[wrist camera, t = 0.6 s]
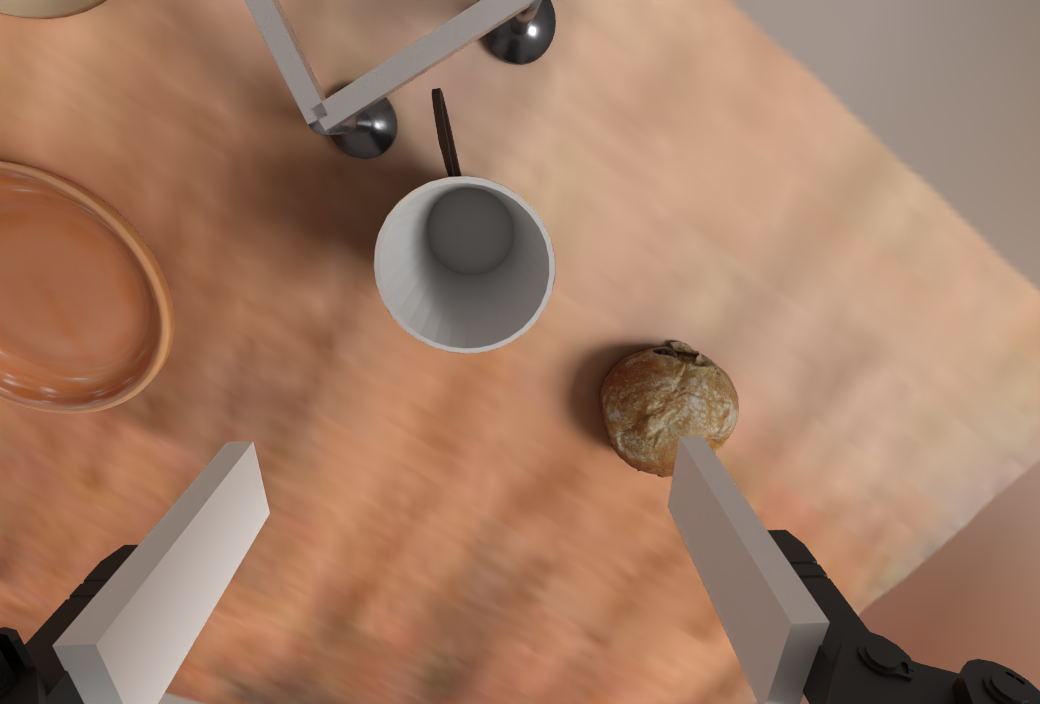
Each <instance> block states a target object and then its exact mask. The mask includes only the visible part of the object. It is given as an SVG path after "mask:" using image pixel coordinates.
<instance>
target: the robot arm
mask: <svg viewBox="0 0 1040 704" xmlns="http://www.w3.org/2000/svg"><path fill="white" fill-rule="evenodd" d="M668 508H669V510H670V512H671V514H672V516H673V519H674V521H675V523H676V525H677V527H678V529H679V532H680V534H681V536H682V538H683V540H684V542H685V545H686V547H687V549H688V551H689V553H690V556H691V558H692V560H693V562H694V564H695V566H696V569H697V571H698V573H699V575H700V577H701V579H702V582H703V584H704V586H705V588H706V590H707V592H708V595H709V597H710V599H711V601H712V603H713V606H714V608H715V610H716V612H717V614H718V616H719V619H720V621H721V623H722V625H723V627H724V629H725V632H726V634H727V636H728V638H729V640H730V643H731V645H732V647H733V649H734V651H735V653H736V656H737V658H738V660H739V662H740V664H741V666H742V669H743V671H744V673H745V675H746V677H747V679H748V682H749V684H750V686H751V688H752V690H753V693H754V695H755V697H756V699H757V701H758V703H759V704H800V702H801V699H802V696H803V694H804V695H805V697H806V698H807V700H808V702H809V704H1040V691H1039V690H1038V689H1037V688H1036V687H1034V686H1033V685H1032V684H1031V683H1030V682H1029V681H1028V680H1026V679H1025V678H1023V677H1022V676H1020V675H1019V674H1017V673H1016V672H1014V671H1013V670H1011V669H1009V668H1007V667H1004V666H1002V665H1000V664H997V663H995V662H992V661H986V660H981V659H976V660H971V661H968V662H967V663H966V664H965V665H964V666H963V668H962V670H961V672H960V673H959V674H958V673H955V672H951V671H946V670H943V669H939V668H935V667H930V666H927V665H923V664H920V663H917V662H914V661H912V660H911V658H910V657H909V656H908V655H907V654H906V653H905V652H904V651H903V650H902V649H901V648H900V647H898V646H897V645H896V644H894V643H892V642H891V641H889V640H888V639H886V638H884V637H883V636H880V635H877V634H874V633H871V632H870V631H869V630H868V629H867V628H866V626H864V624H863V622H862V621H861V620H860V618H859V617H858V616H857V614H856V613H855V612H854V610H853V609H852V608H851V606H850V605H849V604H848V602H847V601H846V600H845V598H844V597H843V596H842V594H841V593H840V592H839V590H838V589H837V587H836V586H835V585H834V583H833V582H832V581H831V579H828V578H827V574H826V573H825V571H824V570H823V569H822V567H821V566H820V565H818V564H817V561H816V559H815V558H814V557H813V555H812V554H811V553H810V551H809V550H808V549H807V547H806V546H805V545H804V544H803V543H802V542H801V541H799V540H798V539H797V538H795V537H794V536H793V535H792V534H790V533H789V532H788V531H786V530H767V529H766V528H765V526H764V525H763V524H762V522H761V521H760V519H759V518H758V516H757V515H756V513H755V512H754V510H753V509H752V507H751V506H750V504H749V503H748V501H747V500H746V499H745V497H744V496H743V494H742V493H741V491H740V490H739V488H738V487H737V485H736V484H735V482H734V481H733V479H732V478H731V476H730V475H729V474H728V472H727V471H726V469H725V468H724V466H723V465H722V463H721V462H720V460H719V459H718V457H717V456H716V454H715V453H714V451H713V450H712V449H711V447H710V446H709V444H708V443H707V441H706V440H705V438H704V437H703V436H683V437H679V441H678V447H677V453H676V460H675V466H674V472H673V478H672V484H671V490H670V496H669V502H668ZM269 514H270V513H269V508H268V504H267V500H266V495H265V491H264V487H263V482H262V478H261V473H260V469H259V465H258V460H257V456H256V452H255V447H254V443H253V442H227V443H226V444H225V445H224V446H223V447H222V449H221V450H220V451H219V452H218V453H217V454H216V456H215V457H214V458H213V459H212V460H211V461H210V463H209V464H208V465H207V466H206V467H205V468H204V470H203V471H202V472H201V473H200V474H199V475H198V477H197V478H196V479H195V480H194V481H193V482H192V484H191V485H190V486H189V487H188V488H187V489H186V491H185V492H184V493H183V494H182V495H181V496H180V498H179V499H178V500H177V501H176V502H175V503H174V505H173V506H172V507H171V508H170V509H169V510H168V512H167V513H166V514H165V515H164V516H163V517H162V519H161V520H160V521H159V522H158V523H157V524H156V525H155V527H154V528H153V529H152V530H151V531H150V532H149V534H148V535H147V536H146V537H145V538H144V539H143V541H142V542H141V543H140V544H139V545H124V546H122V547H121V548H120V549H118V550H117V551H115V552H114V553H112V554H111V555H109V556H108V557H107V558H105V559H104V560H102V561H101V562H100V563H99V564H98V565H97V566H96V567H95V569H94V570H93V571H92V572H91V573H90V574H89V575H88V576H87V577H86V578H85V580H84V583H83V584H80V585H79V586H78V587H77V588H76V589H75V590H74V592H73V593H72V594H71V595H70V598H69V600H65V601H64V603H63V604H62V605H61V606H60V607H59V608H58V609H57V610H56V611H55V612H54V613H53V615H52V616H51V617H50V618H49V619H48V620H47V621H46V622H45V623H44V624H43V626H42V627H41V628H40V629H39V630H38V631H37V632H36V633H35V634H34V635H33V636H32V638H31V639H30V640H29V641H28V642H27V643H26V644H25V645H24V643H23V641H22V640H21V638H20V636H19V634H18V632H17V630H14V629H11V628H7V627H3V628H0V704H158V703H159V701H160V699H161V697H162V696H163V694H164V692H165V691H166V689H167V687H168V686H169V684H170V682H171V681H172V679H173V677H174V675H175V674H176V672H177V670H178V669H179V667H180V665H181V664H182V662H183V660H184V658H185V657H186V655H187V653H188V652H189V650H190V648H191V646H192V645H193V643H194V641H195V640H196V638H197V636H198V635H199V633H200V631H201V629H202V628H203V626H204V624H205V623H206V621H207V619H208V618H209V616H210V614H211V612H212V611H213V609H214V607H215V606H216V604H217V602H218V601H219V599H220V597H221V595H222V594H223V592H224V590H225V589H226V587H227V585H228V583H229V582H230V580H231V578H232V577H233V575H234V573H235V572H236V570H237V568H238V566H239V565H240V563H241V561H242V560H243V558H244V556H245V555H246V553H247V551H248V549H249V548H250V546H251V544H252V543H253V541H254V539H255V537H256V536H257V534H258V532H259V531H260V529H261V527H262V526H263V524H264V522H265V520H266V519H267V517H268V515H269Z"/></svg>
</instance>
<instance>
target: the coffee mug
mask: <svg viewBox="0 0 1040 704" xmlns="http://www.w3.org/2000/svg"><path fill="white" fill-rule="evenodd" d="M432 101H433V109H434V115H435V121H436V127H437V134H438V140H439V145H440V148H441V151H442V155H443V159H444V163H445V167H446V170H447V173H448V176H449V177H446V178H442V179H438V180H435V181H431V182H428V183H426V184H424V185H422V186H420V187H418V188H416V189H414V190H413V191H411V192H410V193H409V194H408V195H406V196H405V197H404V198H403V199H402V200H400V201H399V202H398V203H397V204H396V206H395V207H394V208H393V209H392V211H391V212H390V213H389V214H388V216H387V217H386V219H385V221H384V223H383V225H382V227H381V229H380V231H379V234H378V238H377V242H376V246H375V250H374V272H375V279H376V285H377V288H378V290H379V293H380V296H381V298H382V301H383V303H384V304H385V306H386V308H387V309H388V311H389V312H390V314H391V316H392V317H393V318H394V319H395V320H396V321H397V322H398V324H399V325H400V326H401V327H402V328H403V329H404V330H405V331H407V332H408V333H409V334H411V335H412V336H413V337H415V338H416V339H417V340H419V341H421V342H423V343H425V344H427V345H429V346H431V347H434V348H437V349H441V350H444V351H447V352H454V353H463V354H468V353H482V352H486V351H490V350H494V349H498V348H500V347H502V346H504V345H506V344H508V343H511V342H513V341H514V340H515V339H517V338H518V337H520V336H521V335H523V334H524V333H525V332H526V331H527V330H528V329H529V328H530V327H531V326H532V325H533V324H534V323H535V322H536V321H537V320H538V318H539V317H540V315H541V314H542V312H543V311H544V309H545V307H546V305H547V303H548V300H549V298H550V295H551V293H552V290H553V284H554V279H555V255H554V250H553V246H552V241H551V238H550V236H549V234H548V231H547V229H546V227H545V225H544V223H543V221H542V220H541V219H540V217H539V216H538V214H537V213H536V211H535V210H534V209H533V208H532V207H531V206H530V205H529V204H528V203H527V202H526V201H525V200H524V199H523V198H522V197H521V196H520V195H518V194H516V193H515V192H513V191H512V190H510V189H508V188H507V187H505V186H503V185H501V184H498V183H495V182H493V181H490V180H487V179H483V178H476V177H470V176H461V172H460V168H459V163H458V159H457V154H456V149H455V145H454V140H453V136H452V131H451V127H450V122H449V118H448V114H447V109H446V105H445V101H444V98H443V93H442V91H441V89H440V88H438V89H432Z"/></svg>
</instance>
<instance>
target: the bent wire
mask: <svg viewBox="0 0 1040 704" xmlns="http://www.w3.org/2000/svg"><path fill="white" fill-rule="evenodd" d="M245 2H246V4H247V6H248V8H249V10H250V12H251V14H252V16H253V18H254V20H255V22H256V24H257V26H258V28H259V30H260V32H261V34H262V36H263V37H264V39H265V41H266V43H267V45H268V47H269V49H270V51H271V53H272V55H273V57H274V59H275V61H276V63H277V65H278V67H279V69H280V71H281V73H282V75H283V77H284V79H285V81H286V83H287V85H288V87H289V89H290V91H291V93H292V95H293V97H294V99H295V101H296V102H297V104H298V106H299V108H300V110H301V112H302V114H303V116H304V118H305V120H306V122H307V124H309V126H310V128H311V129H312V130H313V131H314V132H315V133H317V134H320V135H331V137H332V139H333V141H334V142H335V143H336V144H337V146H338V147H339V148H340V149H342V150H343V151H344V152H346V153H347V154H349V155H351V156H354V157H357V158H364V159H367V158H373V157H377V156H379V155H381V154H383V153H385V152H386V151H387V150H388V149H389V148H390V147H391V145H392V144H393V142H394V140H395V137H396V133H397V118H396V114H395V111H394V109H393V107H392V105H391V103H390V102H389V100H388V99H387V98H386V96H388V95H390V94H391V93H393V92H394V91H396V90H398V89H399V88H401V87H402V86H404V85H405V84H407V83H409V82H410V81H412V80H413V79H415V78H417V77H418V76H420V75H421V74H423V73H425V72H426V71H428V70H429V69H431V68H433V67H434V66H436V65H437V64H439V63H440V62H442V61H444V60H445V59H447V58H448V57H450V56H452V55H453V54H455V53H456V52H458V51H460V50H461V49H463V48H464V47H466V46H468V45H469V44H471V43H472V42H474V41H475V40H477V39H479V38H480V37H482V36H483V35H486V38H487V41H488V43H489V45H490V47H491V49H492V50H493V52H494V53H495V54H496V55H497V56H498V57H499V58H501V59H502V60H504V61H505V62H507V63H510V64H514V65H525V64H529V63H531V62H534V61H535V60H537V59H538V58H540V57H541V56H542V55H543V54H544V53H545V51H546V50H547V49H548V47H549V45H550V44H551V42H552V39H553V36H554V32H555V24H556V20H555V12H554V8H553V5H552V3H551V0H480V1H479V2H477V3H476V4H474V5H472V6H471V7H469V8H468V9H466V10H465V11H463V12H461V13H460V14H458V15H457V16H455V17H454V18H452V19H451V20H449V21H447V22H446V23H444V24H443V25H441V26H440V27H438V28H436V29H435V30H433V31H432V32H430V33H429V34H427V35H426V36H424V37H422V38H421V39H419V40H418V41H416V42H415V43H413V44H412V45H410V46H408V47H407V48H405V49H404V50H402V51H401V52H399V53H397V54H396V55H394V56H393V57H391V58H390V59H388V60H387V61H385V62H383V63H382V64H380V65H379V66H377V67H376V68H374V69H372V70H371V71H369V72H368V73H366V74H365V75H363V76H362V77H360V78H358V79H357V80H355V81H354V82H352V83H351V84H349V85H346V86H344V87H342V88H340V89H339V90H338V91H336V92H335V93H334V94H333V95H332V96H330V97H329V98H327V99H326V98H325V95H324V93H323V91H322V89H321V87H320V85H319V83H318V81H317V79H316V77H315V75H314V73H313V71H312V69H311V67H310V64H309V62H308V60H307V58H306V56H305V54H304V52H303V50H302V48H301V46H300V44H299V42H298V40H297V38H296V36H295V34H294V31H293V29H292V27H291V25H290V23H289V21H288V19H287V17H286V15H285V13H284V11H283V9H282V7H281V5H280V3H279V0H245Z"/></svg>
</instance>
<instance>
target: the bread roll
mask: <svg viewBox="0 0 1040 704" xmlns="http://www.w3.org/2000/svg"><path fill="white" fill-rule="evenodd" d="M599 402H600V408H601V411H602V414H603V418H604V422H605V427H606V430H607V434H608V437H609V439H610V441H611V445H612V447H613V448H614V450H615V451H616V453H617V454H618V455H619V457H620V458H621V459H623V460H624V461H625V462H626V463H628V464H629V465H630V466H631V467H633V468H636V469H637V470H638V471H644V472H647V473H650V474H657V475H658V476H660V477H662V478H663V477H669V476H673V472H674V466H675V460H676V453H677V447H678V441H679V437H683V436H703V437H704V438H705V440H706V441H707V443H708V444H709V446H710V447H711V449H712V450H713V451H714V453H716V452H717V451H718V450H719V449H720V448H721V447H722V446H723V444H724V443H725V442H726V440H727V439H728V438H729V436H730V435H731V433H732V432H733V429H734V427H735V424H736V421H737V417H738V413H739V404H738V396H737V393H736V390H735V388H734V386H733V384H732V382H731V380H730V378H729V376H728V375H727V374H726V372H724V371H723V370H722V369H721V368H720V367H718V366H717V364H715V363H714V362H713V361H712V360H710V359H709V358H708V357H706V356H704V355H702V354H701V353H700V352H699V351H697V352H694V351H693V350H692V349H691V348H690V346H689V345H687V344H684V343H682V342H670V343H669V346H666V347H656V348H651V349H648V350H645V351H640V352H638V353H635V354H633V355H630V356H627V357H625V358H624V359H622V360H621V361H620V362H618V363H617V364H616V365H615V366H614V367H613V369H612V370H611V371H610V373H609V374H608V375H607V377H606V379H605V381H604V383H603V386H602V388H601V391H600V396H599Z"/></svg>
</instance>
